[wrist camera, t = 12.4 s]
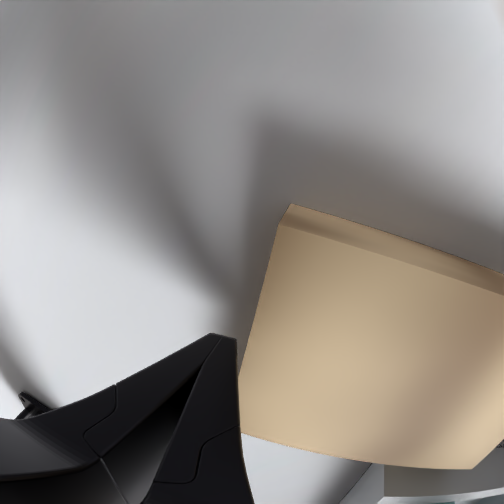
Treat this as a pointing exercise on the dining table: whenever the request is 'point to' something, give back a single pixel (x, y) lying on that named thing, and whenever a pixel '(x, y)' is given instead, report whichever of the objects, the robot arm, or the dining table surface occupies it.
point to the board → (374, 348)
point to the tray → (431, 484)
